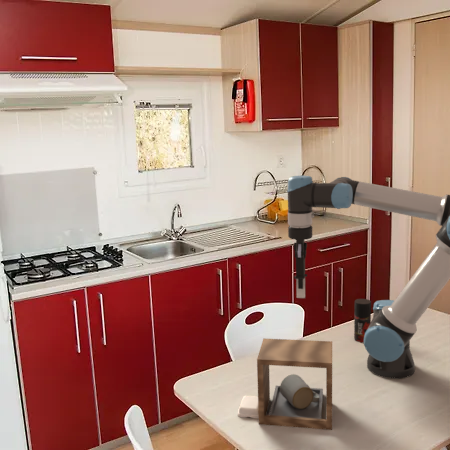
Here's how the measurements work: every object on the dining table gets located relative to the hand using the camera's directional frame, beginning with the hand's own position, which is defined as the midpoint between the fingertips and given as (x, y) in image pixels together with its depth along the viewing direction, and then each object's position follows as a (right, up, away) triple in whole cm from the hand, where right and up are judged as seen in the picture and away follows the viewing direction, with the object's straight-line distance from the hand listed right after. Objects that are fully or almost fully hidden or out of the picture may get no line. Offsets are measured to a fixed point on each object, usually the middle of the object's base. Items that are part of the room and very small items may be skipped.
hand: (300, 297), depth 174 cm
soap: (-17, -31, -16) cm, 39 cm away
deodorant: (+27, -20, +30) cm, 45 cm away
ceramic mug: (-2, -29, -14) cm, 33 cm away
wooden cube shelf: (-4, -31, -19) cm, 36 cm away
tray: (-3, -30, -15) cm, 34 cm away
